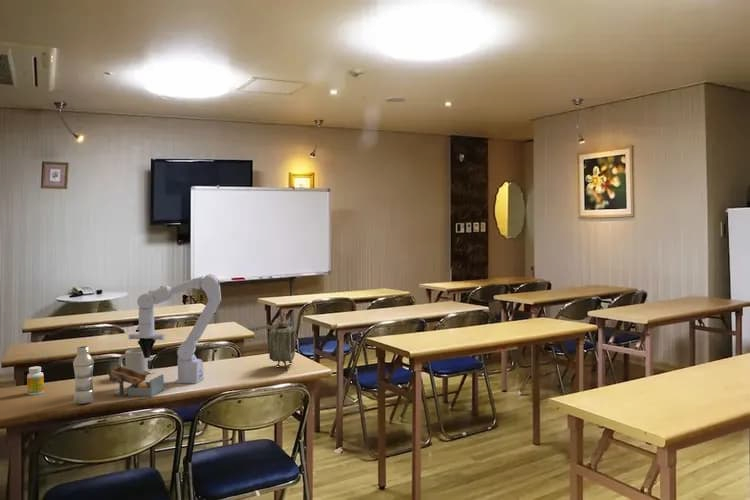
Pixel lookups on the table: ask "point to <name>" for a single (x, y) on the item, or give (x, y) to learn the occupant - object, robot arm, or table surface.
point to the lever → (128, 375)
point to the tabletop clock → (282, 342)
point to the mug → (134, 360)
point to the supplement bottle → (35, 381)
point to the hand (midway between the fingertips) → (147, 357)
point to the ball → (142, 385)
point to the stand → (122, 391)
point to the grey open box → (148, 388)
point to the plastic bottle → (83, 376)
